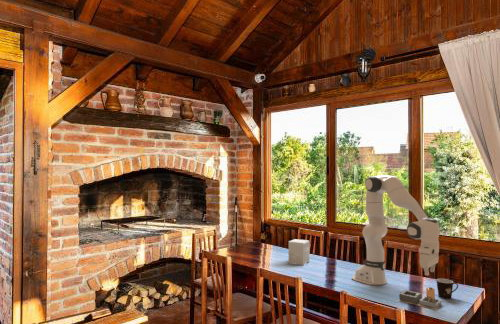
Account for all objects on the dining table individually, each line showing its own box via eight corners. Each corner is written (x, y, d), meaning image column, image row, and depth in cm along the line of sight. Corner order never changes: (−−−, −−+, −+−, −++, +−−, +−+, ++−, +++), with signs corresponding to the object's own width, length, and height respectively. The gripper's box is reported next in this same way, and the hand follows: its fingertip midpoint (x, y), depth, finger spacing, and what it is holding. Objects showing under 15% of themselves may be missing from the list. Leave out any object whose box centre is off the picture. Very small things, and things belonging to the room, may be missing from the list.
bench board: (397, 301, 201) (397, 300, 201) (404, 296, 209) (404, 295, 209) (436, 311, 187) (436, 309, 187) (442, 305, 195) (442, 304, 195)
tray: (419, 304, 194) (419, 300, 194) (424, 300, 200) (424, 296, 200) (436, 309, 188) (436, 304, 188) (441, 304, 194) (441, 300, 195)
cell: (425, 303, 194) (425, 287, 194) (428, 301, 197) (427, 286, 197) (433, 305, 191) (433, 289, 192) (435, 303, 194) (435, 287, 195)
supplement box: (309, 262, 290) (309, 240, 290) (303, 265, 278) (303, 243, 279) (294, 259, 296) (294, 238, 297) (288, 263, 285) (288, 241, 286)
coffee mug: (437, 299, 204) (437, 282, 205) (435, 294, 213) (435, 278, 213) (460, 302, 200) (460, 284, 201) (457, 297, 208) (457, 280, 209)
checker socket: (399, 300, 201) (399, 292, 201) (405, 296, 208) (405, 288, 208) (416, 304, 195) (416, 296, 195) (421, 300, 202) (421, 292, 202)
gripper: (429, 244, 205) (429, 268, 205) (417, 249, 190) (417, 275, 190) (441, 246, 201) (441, 271, 200) (430, 251, 186) (429, 278, 185)
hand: (429, 273), depth 195 cm, fingers open, 8 cm apart
